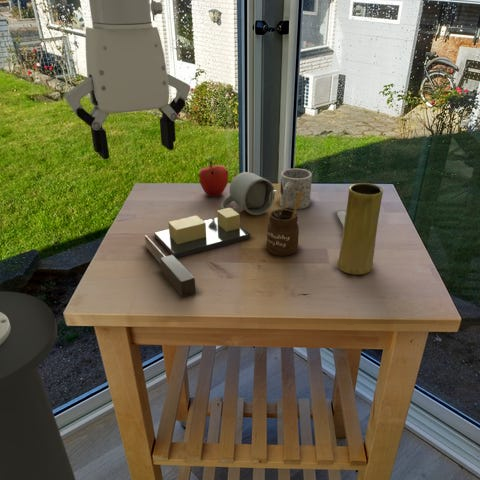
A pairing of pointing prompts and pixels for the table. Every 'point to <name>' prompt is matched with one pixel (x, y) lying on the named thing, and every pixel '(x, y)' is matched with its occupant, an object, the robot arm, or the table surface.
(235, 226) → the butter pat
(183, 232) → the butter block
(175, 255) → the board
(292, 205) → the mug
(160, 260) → the table knife
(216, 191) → the apple
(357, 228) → the vase
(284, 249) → the utensil holder
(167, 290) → the table surface
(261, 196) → the ceramic mug
